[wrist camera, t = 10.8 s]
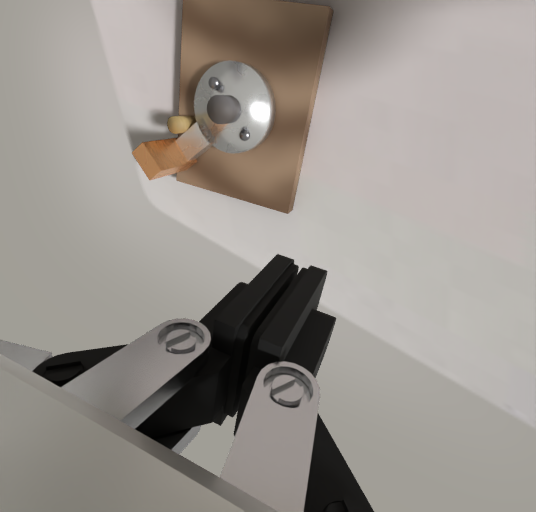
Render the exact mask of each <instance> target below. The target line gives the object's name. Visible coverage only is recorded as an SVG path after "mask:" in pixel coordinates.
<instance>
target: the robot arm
mask: <svg viewBox="0 0 536 512" xmlns="http://www.w3.org/2000/svg"><path fill="white" fill-rule="evenodd" d="M298 268H299V267H298V266H297V265H295V264H294V260H293V259H290V258H288V257H285V256H282V255H279V254H277V255H276V256H275V257H274V258H273V259H272V260H271V261H270V262H269V263H268V264H267V265H266V266H265V267H264V268H263V270H262V271H261V272H260V273H259V274H258V275H257V276H256V277H255V278H254V279H253V280H252V281H251V282H250V283H249V284H246V283H243V282H240V283H239V284H237V285H236V286H235V287H234V288H233V289H232V290H231V291H230V292H229V293H228V294H227V295H226V296H225V297H224V298H223V299H222V300H221V301H220V302H219V303H218V304H217V305H216V306H215V307H214V308H213V309H212V310H211V311H210V312H209V313H207V314H206V315H205V316H204V317H203V318H202V319H201V320H200V321H199V322H197V321H195V320H191V319H173V320H169V321H166V322H164V323H162V324H160V325H158V326H157V327H155V328H154V329H152V330H150V331H149V332H147V333H146V334H144V335H142V336H141V337H139V338H138V339H136V340H135V341H133V342H132V343H130V344H128V345H120V346H113V347H107V348H99V349H91V350H84V351H77V352H70V353H65V354H61V355H57V356H54V357H52V353H51V352H48V351H44V350H39V349H35V348H32V347H27V346H24V345H19V344H15V343H11V342H7V341H3V340H0V512H374V511H373V509H372V508H371V505H370V504H369V502H368V500H367V498H366V497H365V495H364V493H363V491H362V490H361V488H360V486H359V484H358V483H357V481H356V479H355V477H354V476H353V474H352V472H351V470H350V468H349V467H348V465H347V463H346V461H345V460H344V458H343V456H342V454H341V453H340V451H339V449H338V448H337V446H336V444H335V442H334V440H333V439H332V437H331V435H330V433H329V432H328V430H327V428H326V426H325V424H324V423H323V421H322V419H321V418H320V416H319V414H318V407H319V400H320V387H319V385H318V383H317V380H316V379H315V378H316V375H317V373H318V370H319V368H320V365H321V362H322V360H323V357H324V354H325V352H326V349H327V346H328V343H329V340H330V337H331V334H332V331H333V328H334V325H335V321H336V318H335V317H333V316H330V315H328V314H325V313H322V312H320V311H317V307H318V304H319V300H320V297H321V293H322V290H323V286H324V283H325V279H326V276H327V271H326V270H323V269H320V268H317V267H314V266H310V267H309V268H308V269H306V268H302V269H301V270H300V272H299V273H298ZM297 273H298V275H297ZM237 411H238V413H237V419H236V425H235V431H234V436H235V438H234V441H233V443H232V446H231V448H230V451H229V454H228V457H227V459H226V462H225V465H224V467H223V470H222V473H221V475H220V478H219V477H217V476H216V475H214V474H212V473H210V472H209V471H207V470H205V469H204V468H202V467H200V466H198V465H196V464H195V463H193V462H191V461H189V460H188V459H186V458H184V457H183V456H181V455H179V454H180V453H181V452H182V451H183V450H184V449H185V447H186V446H187V445H188V444H189V443H190V442H191V441H192V440H193V439H194V438H195V437H196V435H197V434H198V432H199V431H200V427H201V425H204V424H208V423H212V422H214V423H216V424H219V425H220V426H221V424H222V423H223V421H224V420H225V418H226V416H227V415H229V416H231V417H233V416H234V415H235V414H236V412H237Z"/></svg>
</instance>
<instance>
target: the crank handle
mask: <svg viewBox="0 0 536 512" xmlns="http://www.w3.org/2000/svg"><path fill="white" fill-rule="evenodd" d="M214 95H231V96H233V97H235V98H236V99H237V100H238V101H239V103H240V107H241V113H240V116H239V118H238V120H237V121H235V122H234V123H228V124H216V123H214V122H213V121H211V119H210V118H209V116H208V113H207V104H208V101H209V99H210V98H211V97H212V96H214ZM194 111H195V117H196V121H197V122H196V123H195V124H194V125H192V126H191V127H190V128H189V129H188V130H187V131H186V132H185V133H183V134H182V135H181V136H180V137H178V138H171V139H164V140H156V141H149V142H142V143H141V144H140V145H139V146H138V147H137V148H136V149H135V150H134V151H133V152H132V154H133V156H134V157H135V159H136V160H137V162H138V163H139V165H140V166H141V168H142V169H143V171H144V173H145V174H146V176H147V177H148V179H149V180H153V179H156V178H160V177H163V176H167V175H171V174H174V173H178V172H181V171H185V170H187V169H189V168H190V167H191V166H192V165H194V164H195V163H196V162H198V161H197V160H196V159H197V158H198V157H199V156H200V155H202V154H203V153H204V152H205V151H207V150H208V149H209V148H210V147H212V146H214V147H215V148H217V149H219V150H220V151H223V152H226V153H234V154H235V153H241V152H245V151H249V150H252V149H254V148H256V147H258V146H259V145H260V144H261V143H263V142H264V140H265V139H266V138H267V137H268V135H269V134H270V132H271V130H272V127H273V124H274V120H275V114H276V105H275V98H274V94H273V91H272V88H271V86H270V84H269V82H268V81H267V79H266V78H265V76H264V75H263V74H262V73H261V72H260V71H259V70H258V69H256V68H255V67H253V66H251V65H249V64H245V63H242V62H237V61H223V62H219V63H217V64H215V65H213V66H212V67H210V68H209V69H208V70H207V71H206V72H205V73H204V75H203V76H202V78H201V79H200V81H199V83H198V86H197V89H196V92H195V98H194Z"/></svg>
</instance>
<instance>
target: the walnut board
mask: <svg viewBox="0 0 536 512" xmlns="http://www.w3.org/2000/svg"><path fill="white" fill-rule="evenodd" d="M332 15H333V10H332V9H331V8H330V6H322V5H313V4H305V3H296V2H287V1H279V0H183V10H182V38H181V66H180V94H179V116H172V117H170V118H169V119H168V122H167V126H168V129H169V130H170V132H172V133H174V134H177V133H178V137H180V136H181V135H182V134H183V133H185V132H186V131H187V130H188V129H189V128H190V127H191V126H192V125H194V124H195V123H196V122H197V121H196V117H195V111H194V98H195V92H196V89H197V86H198V83H199V81H200V79H201V78H202V76H203V75H204V73H205V72H206V71H207V70H208V69H209V68H210V67H212V66H213V65H215V64H217V63H219V62H223V61H237V62H242V63H245V64H249V65H251V66H253V67H255V68H256V69H258V70H259V71H260V72H261V73H262V74H263V75H264V76H265V78H266V79H267V81H268V82H269V84H270V86H271V88H272V91H273V94H274V98H275V105H276V114H275V120H274V124H273V127H272V130H271V132H270V134H269V135H268V137H267V138H266V139H265V140H264V142H263V143H261V144H260V145H259V146H258V147H256V148H254V149H252V150H249V151H245V152H241V153H235V154H234V153H226V152H223V151H220V150H219V149H217V148H215V147H214V146H212V147H210V148H209V149H208V150H207V151H205V152H204V153H203V154H202V155H200V156H199V157H198V158H197V159H196V160H197V161H198V162H196V163H195V164H194V165H192V166H191V167H190V168H189V169H187V170H185V171H181V172H178V173H177V178H176V180H177V181H180V182H183V183H187V184H190V185H193V186H197V187H200V188H203V189H207V190H210V191H213V192H217V193H220V194H223V195H227V196H230V197H233V198H237V199H240V200H243V201H247V202H250V203H253V204H257V205H260V206H263V207H267V208H270V209H273V210H277V211H280V212H283V213H287V214H288V213H289V212H291V211H292V209H293V204H294V200H295V195H296V190H297V185H298V180H299V175H300V171H301V166H302V161H303V156H304V151H305V146H306V141H307V137H308V132H309V127H310V122H311V117H312V112H313V107H314V103H315V98H316V93H317V88H318V83H319V78H320V73H321V69H322V64H323V59H324V54H325V49H326V44H327V40H328V35H329V30H330V25H331V20H332ZM207 113H208V116H209V118H210V119H211V121H213V122H214V123H216V124H228V123H234V122H235V121H237V120H238V118H239V116H240V113H241V107H240V103H239V101H238V100H237V99H236V98H235V97H233V96H231V95H214V96H212V97H211V98H210V99H209V101H208V104H207Z"/></svg>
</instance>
